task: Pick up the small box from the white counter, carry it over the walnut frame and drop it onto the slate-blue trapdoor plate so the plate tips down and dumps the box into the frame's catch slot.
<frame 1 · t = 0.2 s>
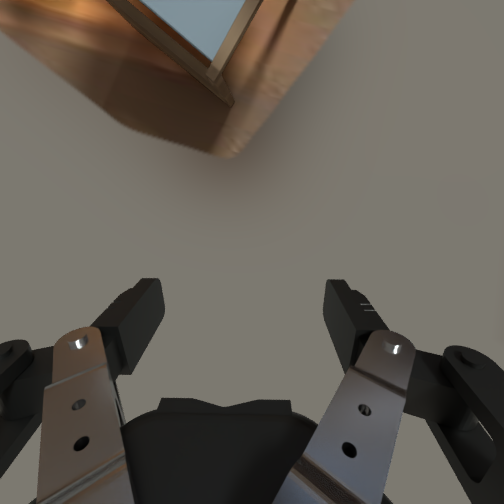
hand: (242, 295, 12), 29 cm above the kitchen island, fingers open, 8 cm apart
trapdoor frame: (216, 9, 30), on the kitchen island
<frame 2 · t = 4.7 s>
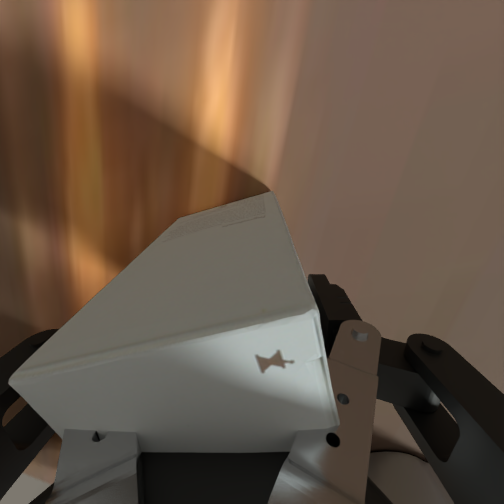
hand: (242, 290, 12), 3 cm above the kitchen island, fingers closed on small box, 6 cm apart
small box: (246, 264, 15), on the kitchen island, touching gripper
when the fingers open (18 cm above the kitchen island, at t = 9.5 s): small box drops 4 cm, resting on trapdoor.
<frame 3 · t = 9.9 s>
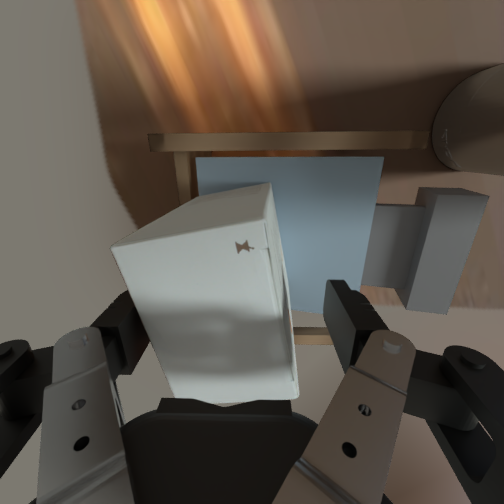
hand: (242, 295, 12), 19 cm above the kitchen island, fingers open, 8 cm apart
trapdoor: (316, 242, 19), point 11 cm above the kitchen island, hinge at -12.1°, touching small box
trapdoor frame: (271, 208, 29), on the kitchen island
small box: (245, 239, 19), point 11 cm above the kitchen island, touching gripper, trapdoor
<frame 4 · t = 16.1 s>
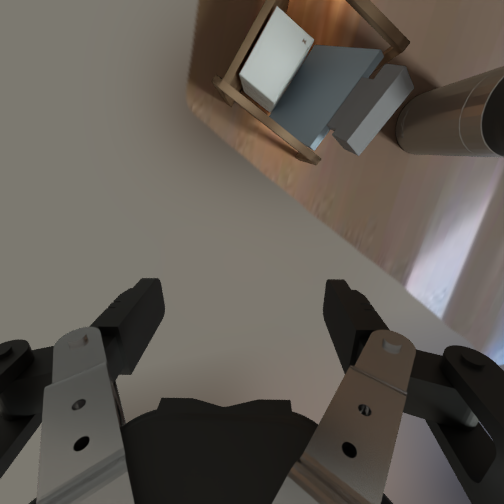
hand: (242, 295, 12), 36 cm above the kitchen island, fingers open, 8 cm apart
trapdoor: (326, 98, 32), point 9 cm above the kitchen island, hinge at -58.0°
trapdoor frame: (291, 90, 39), on the kitchen island
small box: (271, 79, 39), on the kitchen island
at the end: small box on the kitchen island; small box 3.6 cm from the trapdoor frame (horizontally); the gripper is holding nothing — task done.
